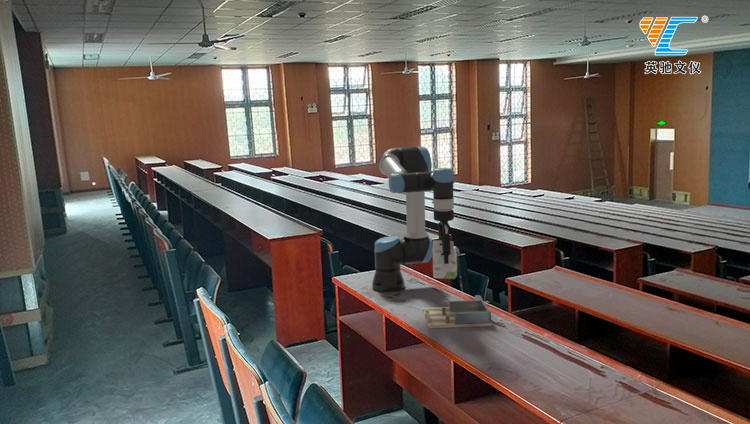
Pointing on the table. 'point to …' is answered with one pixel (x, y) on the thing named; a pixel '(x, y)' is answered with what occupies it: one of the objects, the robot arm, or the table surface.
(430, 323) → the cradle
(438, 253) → the ink box
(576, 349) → the table surface
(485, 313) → the housing
